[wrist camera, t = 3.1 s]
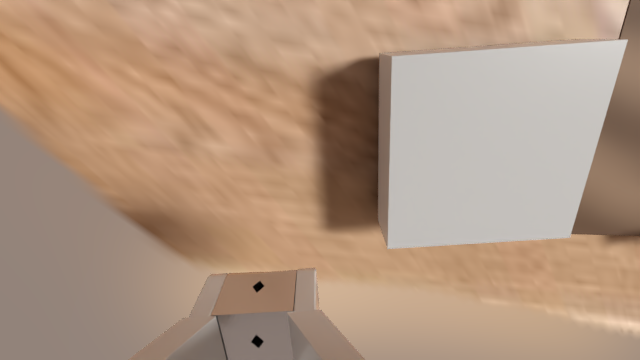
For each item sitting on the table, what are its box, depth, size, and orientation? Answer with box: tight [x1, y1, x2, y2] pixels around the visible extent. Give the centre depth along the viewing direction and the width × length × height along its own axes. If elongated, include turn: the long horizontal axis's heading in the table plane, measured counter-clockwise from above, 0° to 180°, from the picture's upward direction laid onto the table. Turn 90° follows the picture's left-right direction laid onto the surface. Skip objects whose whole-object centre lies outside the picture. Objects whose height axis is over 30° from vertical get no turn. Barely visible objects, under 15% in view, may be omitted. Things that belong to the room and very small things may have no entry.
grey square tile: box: [378, 39, 628, 249], centre depth 18 cm, size 10×10×4 cm
